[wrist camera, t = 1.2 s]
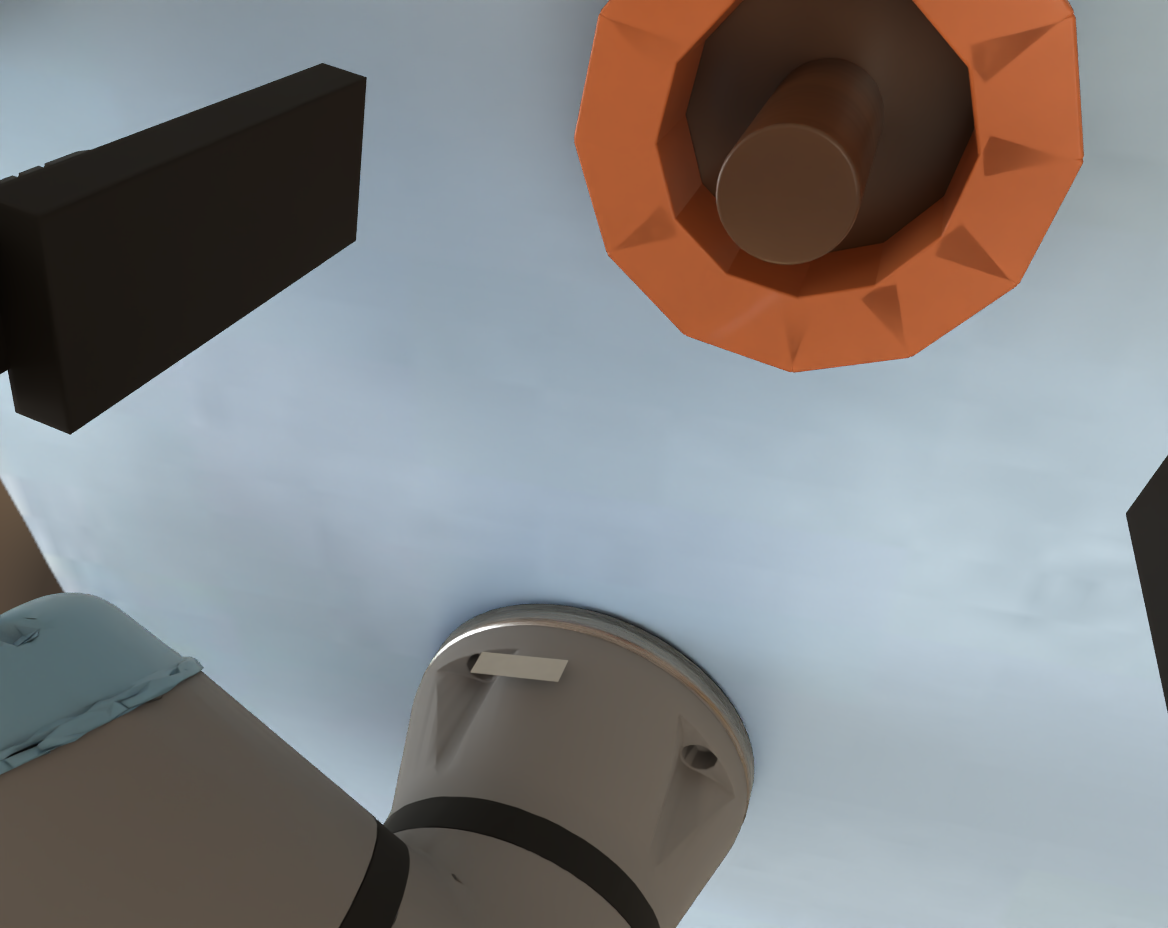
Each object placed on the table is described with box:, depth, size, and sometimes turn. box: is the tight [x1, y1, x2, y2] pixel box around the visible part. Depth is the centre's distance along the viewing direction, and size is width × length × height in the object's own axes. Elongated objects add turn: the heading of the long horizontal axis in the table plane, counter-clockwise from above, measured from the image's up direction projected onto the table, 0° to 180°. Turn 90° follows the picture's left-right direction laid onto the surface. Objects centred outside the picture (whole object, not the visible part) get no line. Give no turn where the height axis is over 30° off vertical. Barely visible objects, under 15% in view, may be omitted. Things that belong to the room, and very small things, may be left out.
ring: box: [574, 0, 1084, 372], centre depth 23 cm, size 11×11×3 cm
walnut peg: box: [686, 0, 975, 265], centre depth 23 cm, size 8×8×10 cm
